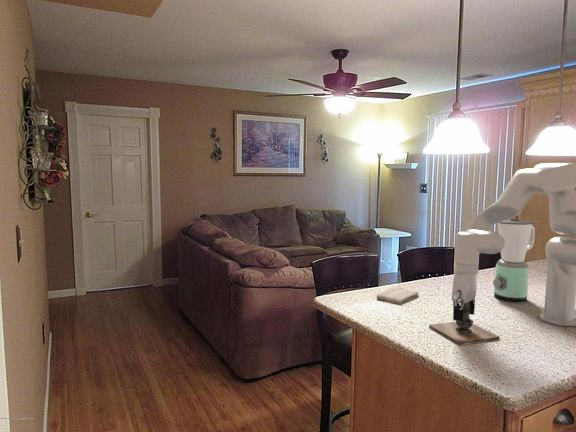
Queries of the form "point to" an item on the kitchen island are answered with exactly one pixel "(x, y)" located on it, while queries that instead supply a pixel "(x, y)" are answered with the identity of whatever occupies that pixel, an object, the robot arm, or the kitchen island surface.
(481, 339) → the walnut board
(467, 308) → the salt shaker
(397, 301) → the washcloth
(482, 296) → the kitchen island surface
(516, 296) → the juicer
